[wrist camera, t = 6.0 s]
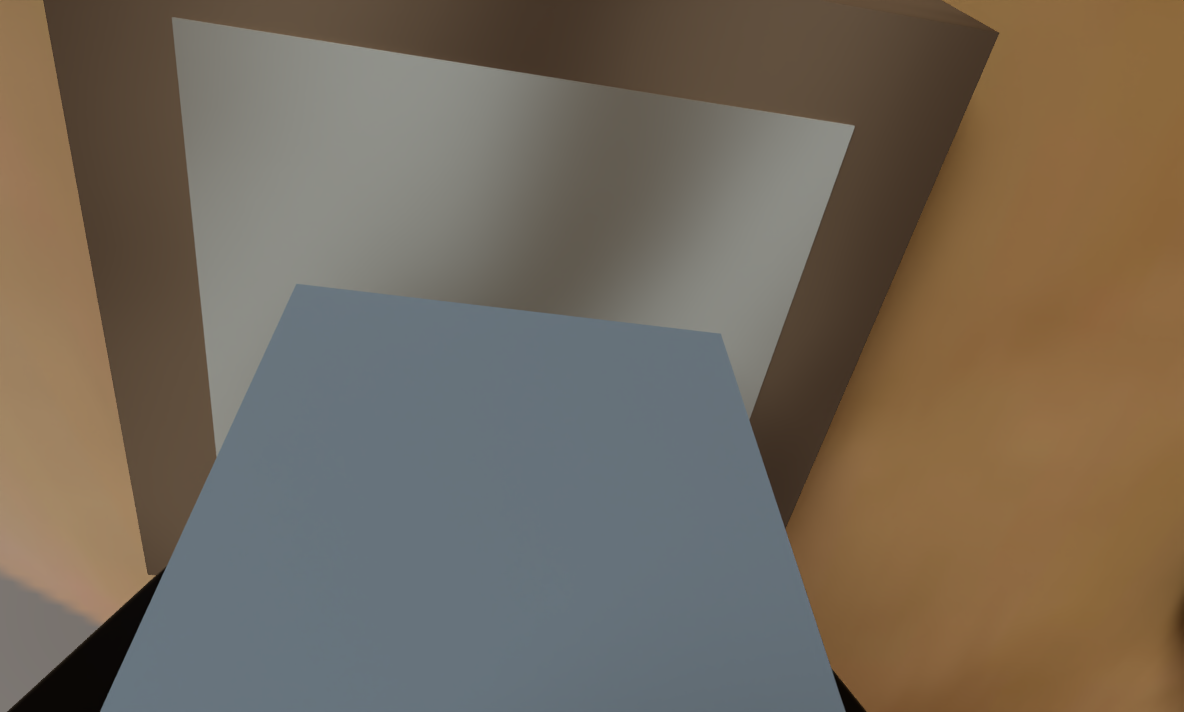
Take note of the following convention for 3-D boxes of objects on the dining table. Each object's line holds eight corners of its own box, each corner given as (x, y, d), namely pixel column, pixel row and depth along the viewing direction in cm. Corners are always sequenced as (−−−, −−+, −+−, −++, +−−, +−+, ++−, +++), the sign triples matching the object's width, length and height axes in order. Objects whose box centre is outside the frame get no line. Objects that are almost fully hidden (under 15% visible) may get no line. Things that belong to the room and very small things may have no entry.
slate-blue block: (720, 333, 10) (893, 858, 5) (637, 600, 13) (699, 1103, 8) (297, 283, 10) (42, 836, 5) (304, 576, 12) (152, 1114, 7)
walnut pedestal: (939, -1, 13) (1000, 33, 11) (730, 543, 19) (748, 616, 18) (93, -158, 11) (14, -146, 9) (183, 499, 18) (146, 576, 16)
